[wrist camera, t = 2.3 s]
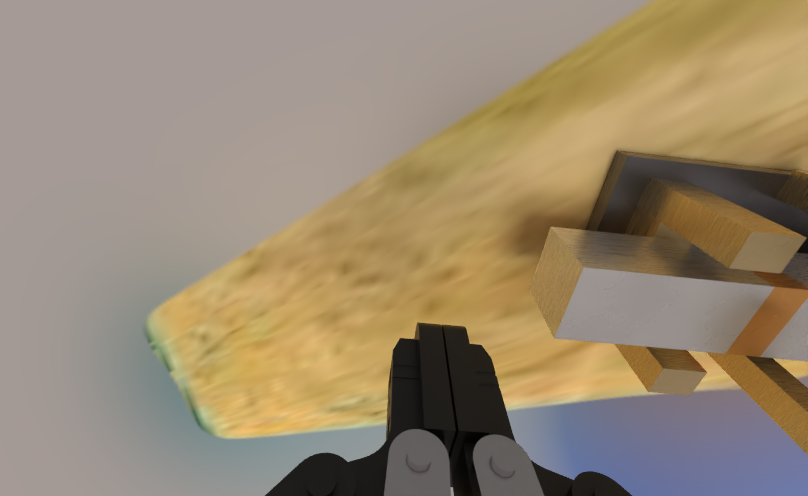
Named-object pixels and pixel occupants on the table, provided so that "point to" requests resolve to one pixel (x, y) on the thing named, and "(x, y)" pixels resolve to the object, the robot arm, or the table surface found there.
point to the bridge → (763, 377)
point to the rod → (668, 296)
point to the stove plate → (721, 179)
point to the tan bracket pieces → (717, 236)
